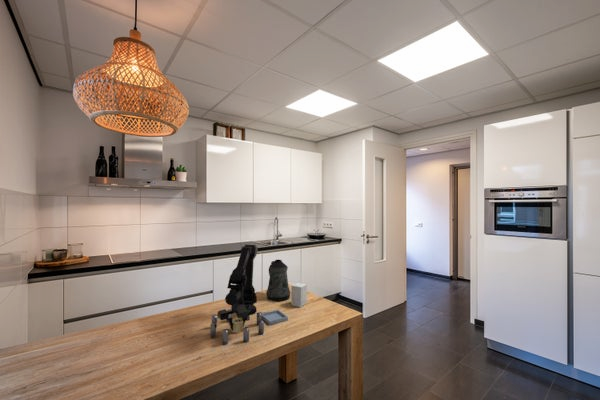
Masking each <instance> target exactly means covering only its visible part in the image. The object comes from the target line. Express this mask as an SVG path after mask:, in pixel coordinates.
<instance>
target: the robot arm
mask: <svg viewBox="0 0 600 400" xmlns="http://www.w3.org/2000/svg"><path fill="white" fill-rule="evenodd" d="M258 250H259V248H258V246H257V245H256V244H245V245H243V246H241V249H240V256H239V259H238V262H237V265H236V267H235V268H234V269H232V271H231V274H230V276H229V278H228V279H229V280H228V283H227V287H226V289H229V292H228V293H227V294H226V295H225V298H224V300H225V303H226V304H227V305H228V306H230V309H232V310H231V311H227V310H228V309H226V308H225V309H220V310H218V311H217V313H216V315H217V319H219V320H220V321H225V320H226V321H227V320H228V322H227V323H228V325H229V328H230V331H231V330H233V323H232V320H233V319H234V318H233V315H236V318H241V319H242V320H243V327H245V323H246V321H247V320H246V319H247V317H248V316H249V315H250V316H251V315H253V314H257V313H258V312H257V306H256V305H254V304H256V303H258V298H257V297H258V296H257V293H256V289H255V286H254V285H253V278H254V260H255V258H256V257H257V253H258V252H259V251H258Z"/></svg>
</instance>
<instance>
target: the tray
mask: <svg viewBox="0 0 600 400" xmlns="http://www.w3.org/2000/svg"><path fill="white" fill-rule="evenodd" d="M261 313H262V312H261ZM262 320H263V321H264V323H266V324H268V326H273V325H276V324H279V323H284V322H287V321H289V316H287V315H286V314H285V313H284V312H282V311H281V310H279V309H276V310H271V311H267V312H263V313H262Z"/></svg>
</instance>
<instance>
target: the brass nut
mask: <svg viewBox="0 0 600 400" xmlns="http://www.w3.org/2000/svg"><path fill="white" fill-rule="evenodd" d="M232 323H233V330H231V329H230V331H231V332H232V334H240V333H241V332H243V328H244V326H243V320H242V319H241V318H238V317H235V318H233V320H232Z"/></svg>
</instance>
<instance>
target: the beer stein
mask: <svg viewBox="0 0 600 400" xmlns="http://www.w3.org/2000/svg"><path fill="white" fill-rule="evenodd" d="M288 268H289V267H288V266H287V264H286V263H284V262H283V261H282V259H275V260H273V261H271V262H270V265H269V267H268V276H269V280H268V286H267V289H266V293H265V295H266V299H267V301H270V302H275V303H276V302H278V303H280V302H286V301H289V300H290V299H291V297H290V296H291V289H290V286H289V279H288Z"/></svg>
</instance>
